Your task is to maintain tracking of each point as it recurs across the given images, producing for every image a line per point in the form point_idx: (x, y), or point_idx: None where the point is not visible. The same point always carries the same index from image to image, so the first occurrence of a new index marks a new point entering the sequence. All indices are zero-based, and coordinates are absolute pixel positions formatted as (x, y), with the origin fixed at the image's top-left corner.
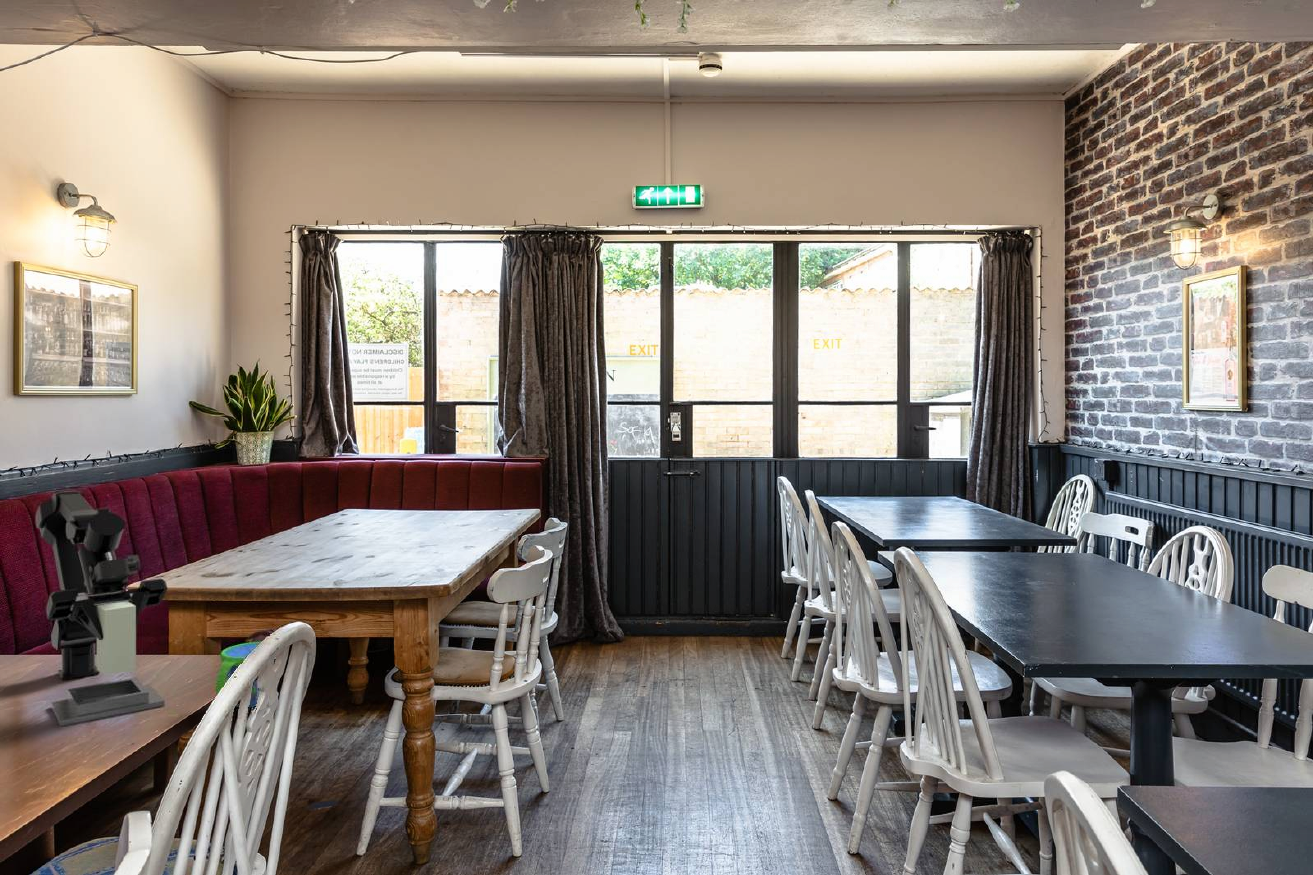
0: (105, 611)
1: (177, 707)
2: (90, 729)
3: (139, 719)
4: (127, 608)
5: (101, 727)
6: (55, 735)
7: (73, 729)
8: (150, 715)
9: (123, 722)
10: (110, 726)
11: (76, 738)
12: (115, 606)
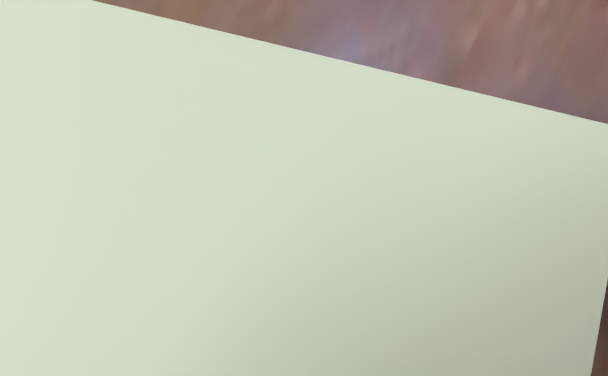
0: (599, 126)
1: (117, 6)
2: (471, 63)
3: (297, 4)
4: (82, 4)
5: (434, 47)
6: (581, 115)
7: None
8: (243, 11)
9: (353, 27)
10: (408, 27)
11: (550, 10)
12: (215, 361)
